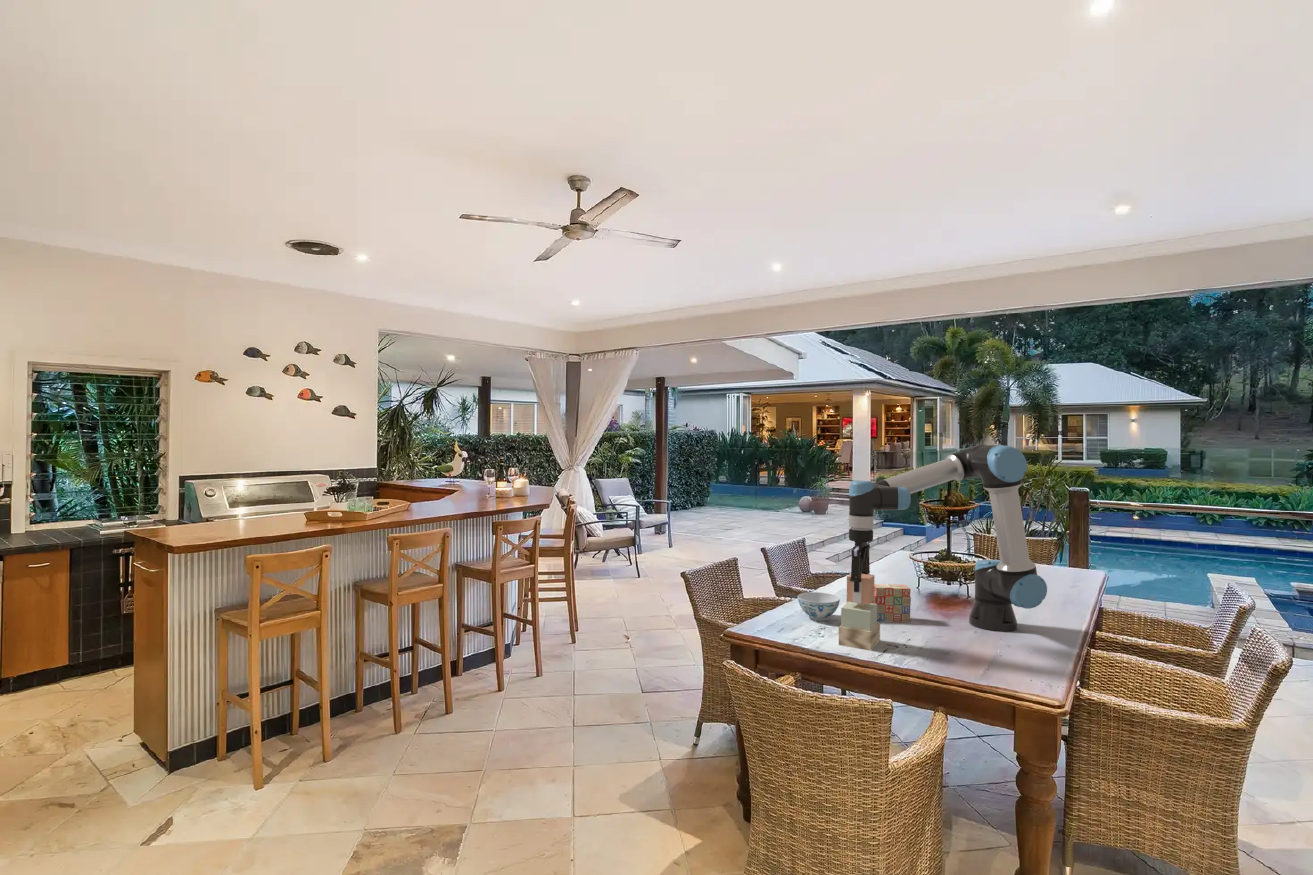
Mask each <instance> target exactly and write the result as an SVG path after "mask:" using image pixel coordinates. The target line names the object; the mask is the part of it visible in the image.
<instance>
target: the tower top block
mask: <svg viewBox="0 0 1313 875" xmlns="http://www.w3.org/2000/svg"><path fill="white" fill-rule="evenodd" d="M840 620H841V621H840V625H841V627H847V628H853V629H860V630H867V631H871V629H872V628H873V627H874V625H875V624H876V623H877V622H878V621H877V604H873V603H870V604H862V603H855V602H847V601H846V603H845V604H844V605H842V607H841V608H840Z"/></svg>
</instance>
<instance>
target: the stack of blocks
mask: <svg viewBox="0 0 1313 875" xmlns="http://www.w3.org/2000/svg"><path fill="white" fill-rule="evenodd" d="M911 589H912V588H910V587H909V586H907V585H906V584H896V583H888V584H887V583H885V584H884V583H874V600H873V601H872V602H871V603H873V604H877V622H892V623H893V622H894V623H896V622H897V623H898V622H899V623H910V622H911V601H912V600H911V599H912V597H911V593H912V592H911Z"/></svg>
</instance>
